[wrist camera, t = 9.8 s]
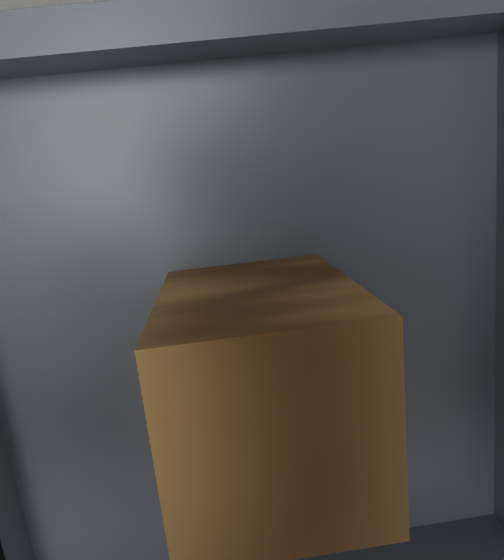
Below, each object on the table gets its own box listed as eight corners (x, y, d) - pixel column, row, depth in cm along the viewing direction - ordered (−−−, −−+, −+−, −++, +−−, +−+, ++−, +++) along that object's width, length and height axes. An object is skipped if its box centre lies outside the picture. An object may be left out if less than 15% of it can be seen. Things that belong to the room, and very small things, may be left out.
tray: (518, -3, 14) (585, -41, 11) (509, 521, 18) (557, 576, 15) (-120, 56, 13) (-198, 27, 10) (25, 601, 17) (-6, 673, 14)
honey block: (316, 254, 14) (402, 316, 8) (326, 389, 15) (409, 541, 9) (168, 271, 14) (134, 350, 8) (188, 408, 15) (173, 578, 9)
